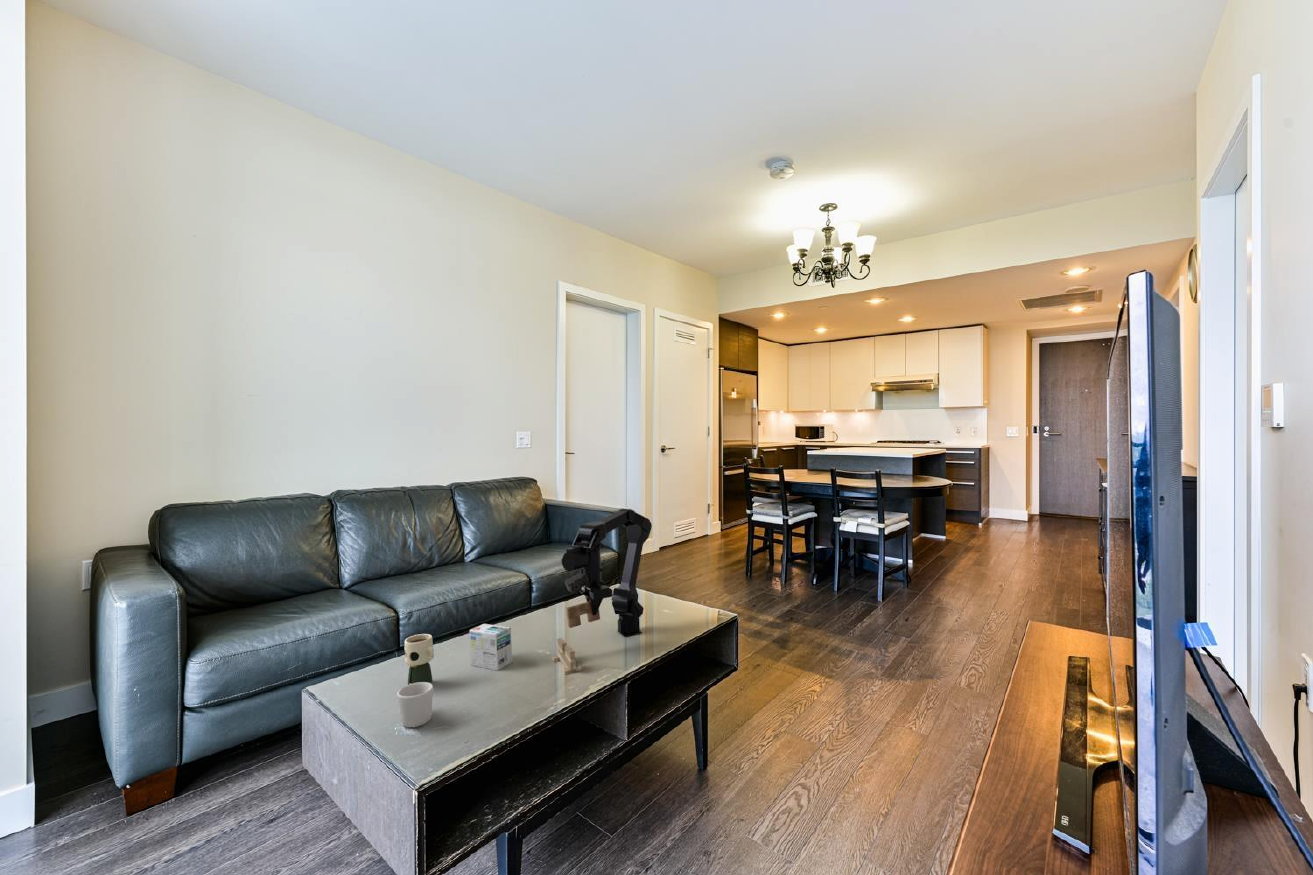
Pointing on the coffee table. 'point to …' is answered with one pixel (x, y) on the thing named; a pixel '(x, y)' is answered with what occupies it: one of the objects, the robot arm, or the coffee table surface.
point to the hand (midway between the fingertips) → (593, 614)
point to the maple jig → (566, 657)
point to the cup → (415, 703)
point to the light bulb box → (490, 646)
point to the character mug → (419, 658)
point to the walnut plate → (578, 610)
